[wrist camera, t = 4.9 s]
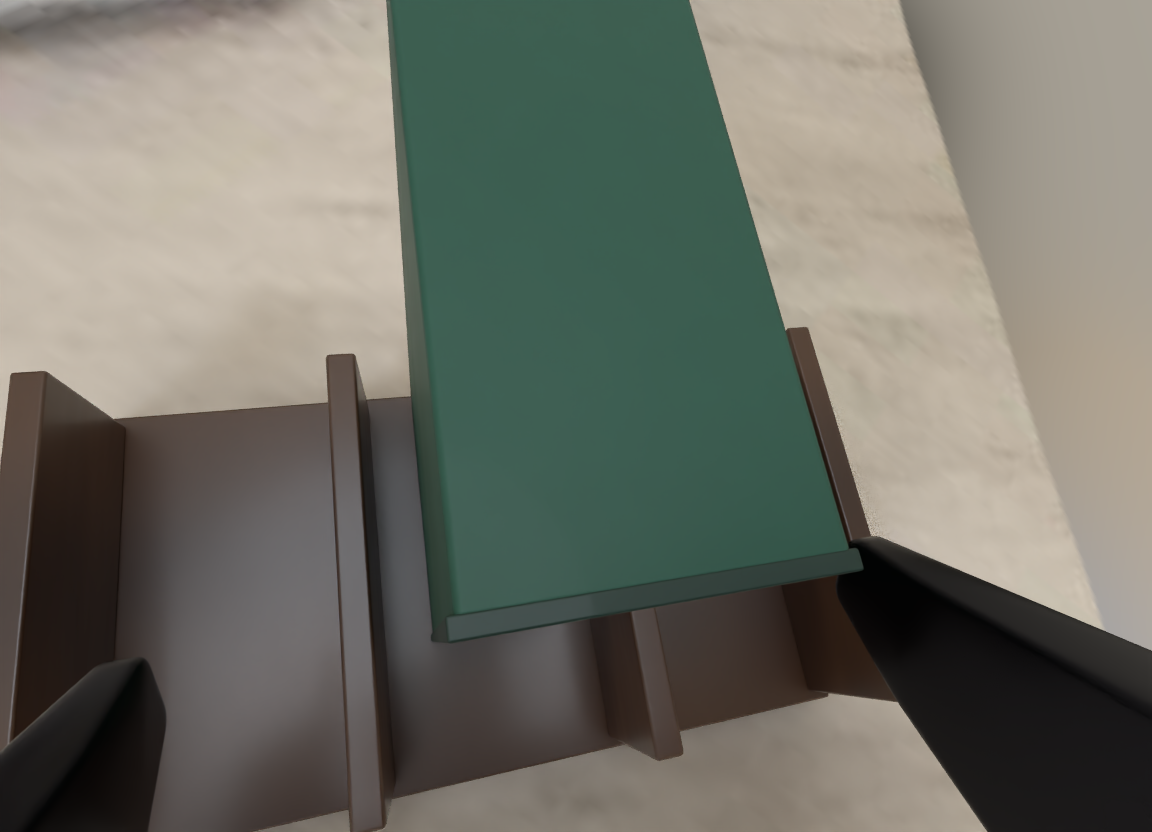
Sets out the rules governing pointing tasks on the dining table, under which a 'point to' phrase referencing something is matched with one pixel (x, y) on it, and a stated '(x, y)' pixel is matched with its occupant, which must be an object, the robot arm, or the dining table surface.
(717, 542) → the green rectangular block
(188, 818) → the book rack
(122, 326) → the dining table surface
